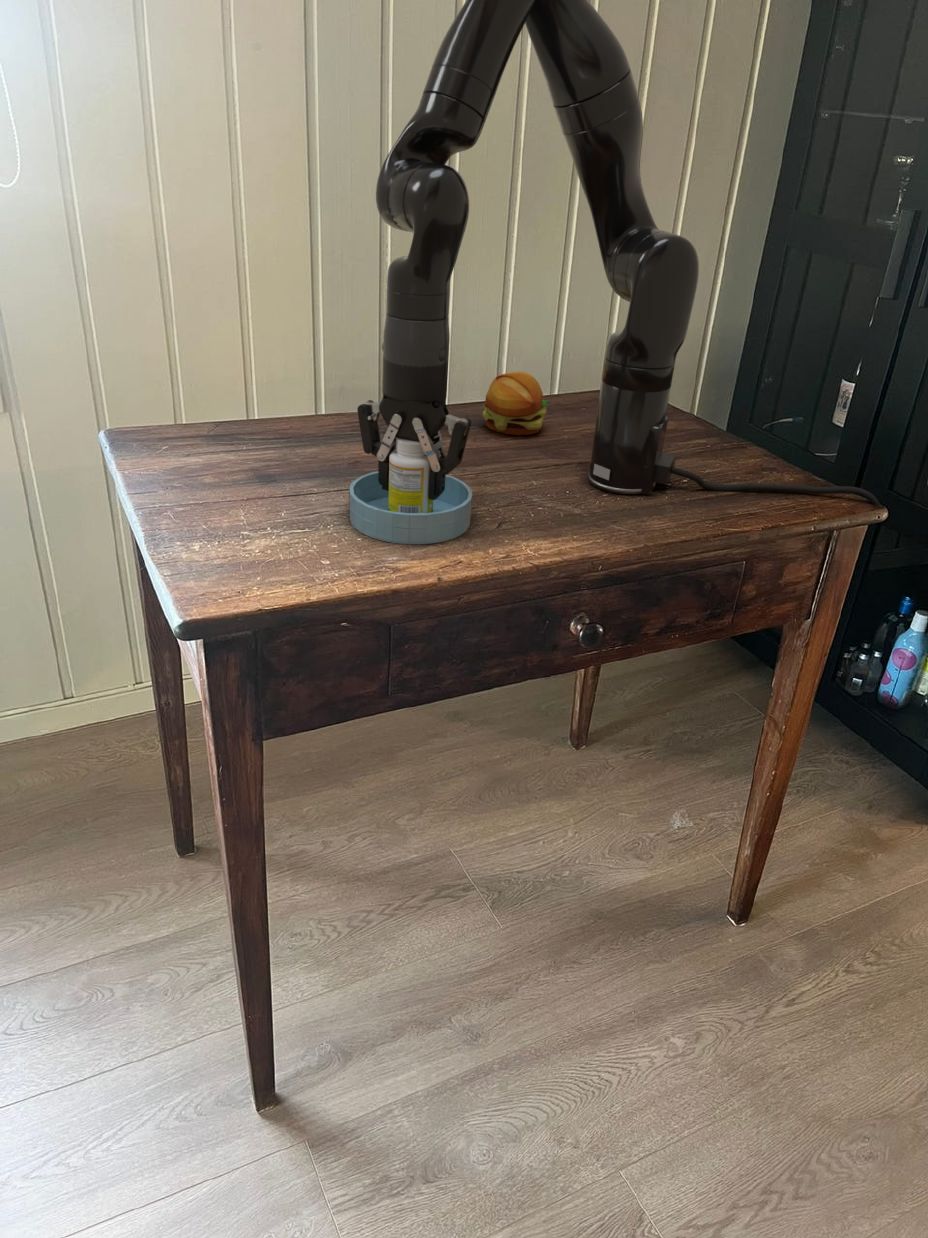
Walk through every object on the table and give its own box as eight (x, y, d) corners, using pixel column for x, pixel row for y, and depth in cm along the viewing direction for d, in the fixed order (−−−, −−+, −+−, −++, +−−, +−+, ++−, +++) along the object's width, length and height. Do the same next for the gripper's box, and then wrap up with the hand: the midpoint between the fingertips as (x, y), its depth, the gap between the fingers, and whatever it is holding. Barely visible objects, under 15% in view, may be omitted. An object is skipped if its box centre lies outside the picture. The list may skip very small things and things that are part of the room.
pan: (486, 509, 122) (489, 482, 120) (443, 554, 110) (444, 524, 108) (381, 488, 126) (381, 461, 125) (327, 528, 114) (327, 499, 112)
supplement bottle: (416, 505, 121) (419, 427, 116) (441, 520, 118) (445, 441, 113) (379, 513, 118) (380, 434, 113) (403, 529, 115) (406, 448, 110)
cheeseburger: (550, 420, 156) (555, 365, 149) (538, 455, 149) (543, 399, 142) (490, 412, 158) (492, 357, 151) (475, 446, 150) (477, 390, 143)
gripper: (486, 357, 109) (476, 494, 117) (373, 339, 113) (371, 472, 122) (462, 371, 103) (454, 515, 111) (344, 352, 107) (344, 492, 115)
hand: (410, 492), depth 116 cm, fingers closed on supplement bottle, 5 cm apart
